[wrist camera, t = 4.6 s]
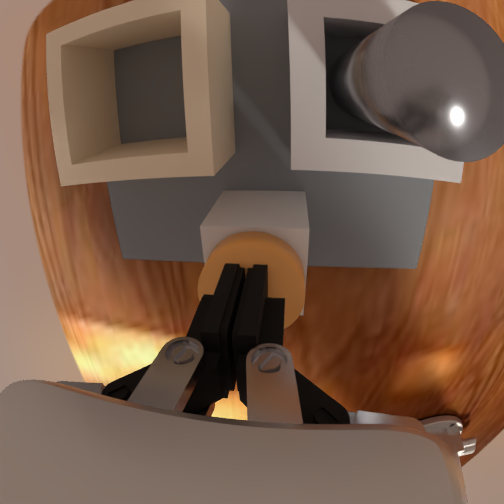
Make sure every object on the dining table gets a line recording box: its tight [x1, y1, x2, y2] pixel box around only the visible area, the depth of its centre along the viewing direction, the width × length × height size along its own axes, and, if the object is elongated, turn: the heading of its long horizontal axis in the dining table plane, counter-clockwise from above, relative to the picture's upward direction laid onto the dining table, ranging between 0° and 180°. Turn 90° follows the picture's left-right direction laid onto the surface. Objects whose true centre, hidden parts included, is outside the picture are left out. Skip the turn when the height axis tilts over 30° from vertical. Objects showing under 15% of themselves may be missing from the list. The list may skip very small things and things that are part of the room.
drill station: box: [46, 0, 464, 315], centre depth 14 cm, size 20×16×6 cm
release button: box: [197, 231, 305, 329], centre depth 15 cm, size 4×4×6 cm
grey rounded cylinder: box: [329, 1, 504, 162], centre depth 9 cm, size 4×4×10 cm
